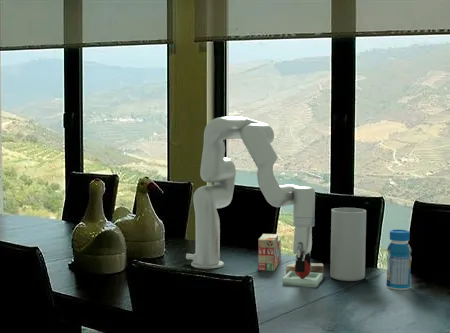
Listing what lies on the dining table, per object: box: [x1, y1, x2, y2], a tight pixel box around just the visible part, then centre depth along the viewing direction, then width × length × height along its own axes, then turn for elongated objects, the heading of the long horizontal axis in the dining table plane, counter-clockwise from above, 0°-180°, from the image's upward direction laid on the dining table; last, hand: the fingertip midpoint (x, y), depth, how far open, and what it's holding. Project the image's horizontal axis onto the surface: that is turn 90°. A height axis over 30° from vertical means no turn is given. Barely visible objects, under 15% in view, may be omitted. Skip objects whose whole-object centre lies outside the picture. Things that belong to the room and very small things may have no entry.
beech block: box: [285, 262, 296, 275], centre depth 268 cm, size 4×6×4 cm, turn 142°
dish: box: [282, 271, 324, 288], centre depth 258 cm, size 12×12×2 cm
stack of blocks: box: [257, 233, 282, 272], centre depth 285 cm, size 21×6×12 cm, turn 169°
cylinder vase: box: [329, 207, 367, 282], centre depth 264 cm, size 12×12×25 cm
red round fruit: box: [294, 260, 311, 279], centre depth 257 cm, size 6×6×8 cm
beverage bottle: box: [386, 228, 412, 291], centre depth 250 cm, size 8×8×20 cm
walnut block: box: [310, 262, 325, 275], centre depth 266 cm, size 4×4×4 cm
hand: (303, 268), depth 257 cm, fingers open, 9 cm apart
